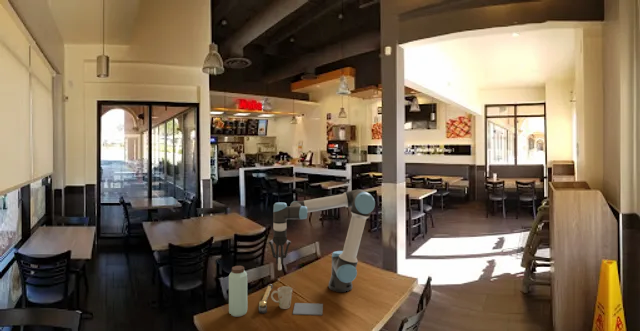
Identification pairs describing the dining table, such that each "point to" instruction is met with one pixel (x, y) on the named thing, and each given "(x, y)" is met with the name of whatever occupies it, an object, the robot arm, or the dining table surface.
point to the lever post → (263, 310)
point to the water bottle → (238, 291)
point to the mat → (308, 309)
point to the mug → (283, 296)
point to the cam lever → (265, 296)
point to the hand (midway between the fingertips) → (279, 269)
